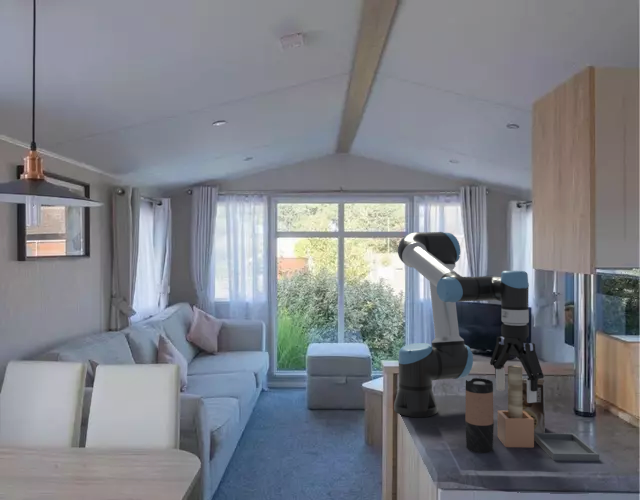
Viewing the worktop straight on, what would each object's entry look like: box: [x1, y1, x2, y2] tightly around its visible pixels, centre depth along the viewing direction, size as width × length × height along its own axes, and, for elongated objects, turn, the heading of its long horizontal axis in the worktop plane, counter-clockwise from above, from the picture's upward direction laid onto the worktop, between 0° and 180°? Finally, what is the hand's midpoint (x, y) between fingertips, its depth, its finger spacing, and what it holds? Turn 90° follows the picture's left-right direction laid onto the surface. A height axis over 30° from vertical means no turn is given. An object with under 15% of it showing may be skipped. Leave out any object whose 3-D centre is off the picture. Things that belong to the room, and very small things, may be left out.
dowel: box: [507, 365, 523, 418], centre depth 156 cm, size 4×4×22 cm
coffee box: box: [522, 377, 546, 433], centre depth 167 cm, size 9×6×16 cm
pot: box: [497, 409, 535, 448], centre depth 156 cm, size 8×8×9 cm
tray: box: [534, 432, 600, 462], centre depth 150 cm, size 16×12×3 cm
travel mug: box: [464, 377, 494, 454], centre depth 151 cm, size 8×8×20 cm
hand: (515, 396), depth 156 cm, fingers open, 13 cm apart
